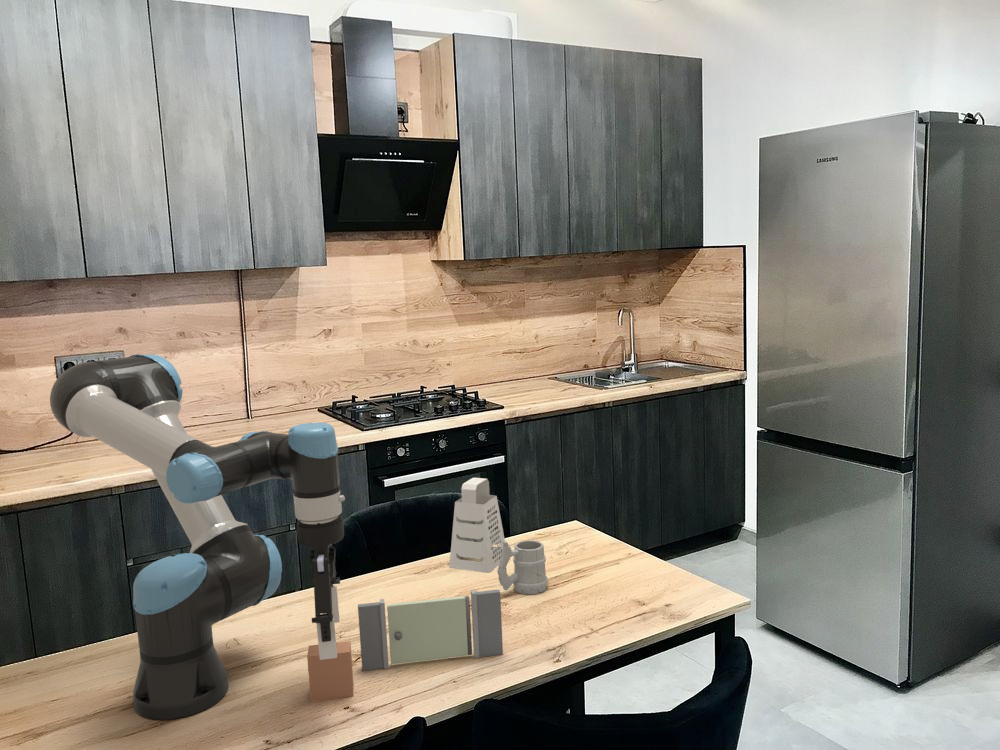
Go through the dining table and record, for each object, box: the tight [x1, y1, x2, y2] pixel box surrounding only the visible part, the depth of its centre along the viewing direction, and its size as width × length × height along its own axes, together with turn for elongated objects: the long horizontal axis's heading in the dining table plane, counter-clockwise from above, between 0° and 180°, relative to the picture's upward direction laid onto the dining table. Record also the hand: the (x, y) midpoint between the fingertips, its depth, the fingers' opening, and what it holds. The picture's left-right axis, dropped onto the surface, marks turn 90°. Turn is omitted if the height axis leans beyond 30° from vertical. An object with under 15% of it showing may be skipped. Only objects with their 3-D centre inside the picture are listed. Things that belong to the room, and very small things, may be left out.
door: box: [386, 595, 473, 665], centre depth 149 cm, size 15×2×11 cm, turn 99°
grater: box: [448, 477, 505, 574], centre depth 196 cm, size 10×10×20 cm
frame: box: [357, 589, 504, 672], centre depth 149 cm, size 26×2×12 cm, turn 99°
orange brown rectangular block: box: [307, 640, 355, 703], centre depth 140 cm, size 7×4×8 cm, turn 99°
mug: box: [496, 539, 549, 596], centre depth 179 cm, size 8×12×12 cm, turn 121°
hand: (330, 639), depth 139 cm, fingers open, 13 cm apart
